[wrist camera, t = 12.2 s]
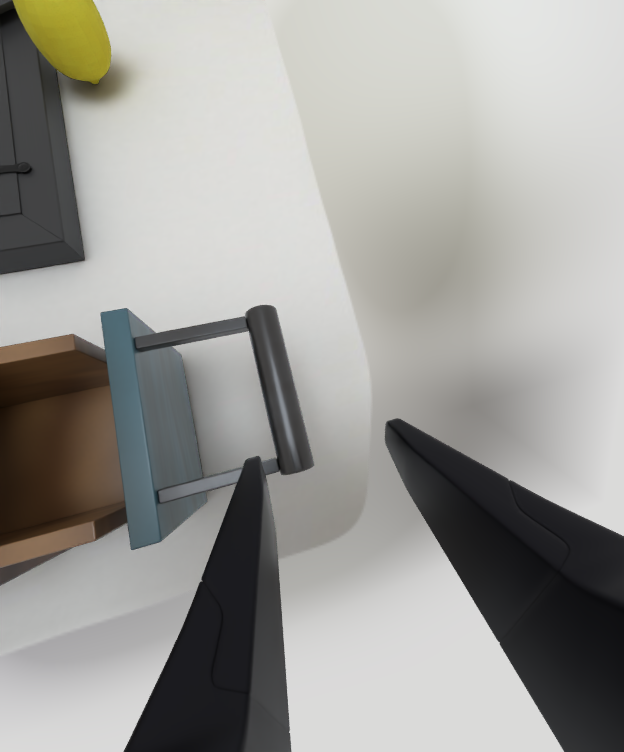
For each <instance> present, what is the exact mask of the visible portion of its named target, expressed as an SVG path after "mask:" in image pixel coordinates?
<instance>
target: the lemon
mask: <svg viewBox="0 0 624 752" xmlns="http://www.w3.org/2000/svg"><path fill="white" fill-rule="evenodd" d="M13 2H14V5H15V8H16V11H17V13H18V15H19V18H20V20H21V22H22V24H23V26H24V28H25V30H26V32H27V33H28V35H29V37H30V38H31V40H32V41H33V43H34V44H35V46H36V47H37V48H38V50H39V51H40V52H41V53H42V54H43V56H44V57H45V58H46V59H47V60H48V61H49V63H50V64H51V65H52V66H53V67H54V68H56V69H57V70H58V71H59V72H61V73H62V74H64V75H66V76H68V77H70V78H72V79H77V80H82V81H89V82H91V83H92V84H98V83H99V80H100V78H102V77H103V76H104V75H105V74H106V73H107V71H108V69H109V67H110V61H111V46H110V41H109V38H108V35H107V32H106V29H105V26H104V23H103V21H102V18H101V16H100V14H99V12H98V10H97V8H96V6H95V4H94V2H93V0H13Z"/></svg>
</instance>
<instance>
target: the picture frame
mask: <svg viewBox="0 0 624 752" xmlns="http://www.w3.org/2000/svg"><path fill="white" fill-rule="evenodd" d="M81 260H84V253H83V247H82V240H81V233H80V227H79V220H78V213H77V207H76V200H75V194H74V187H73V180H72V174H71V167H70V160H69V154H68V147H67V141H66V134H65V127H64V121H63V114H62V108H61V101H60V94H59V88H58V81H57V74H56V68H54V67H53V66H52V65H51V64H50V63H49V61H48V60H47V59H46V58H45V57H44V56H43V54H42V53H41V52H40V51H39V50H38V48H37V47H36V46H35V44H34V43H33V41H32V40H31V38H30V37H29V35H28V33H27V32H26V30H25V28H24V26H23V24H22V22H21V20H20V18H19V15H18V13H17V11H16V8H15V5H14V2H13V0H0V274H2V273H8V272H14V271H20V270H26V269H32V268H39V267H45V266H51V265H57V264H63V263H69V262H75V261H81Z"/></svg>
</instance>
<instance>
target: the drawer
mask: <svg viewBox="0 0 624 752" xmlns="http://www.w3.org/2000/svg"><path fill="white" fill-rule="evenodd" d="M245 317H246V318H245ZM245 317H239V318H234V319H228V320H223V321H218V322H213V323H207V324H202V325H197V326H192V327H186V328H181V329H176V330H170V331H165V332H160V333H155V332H154V331H153V330H152V329H151V328H150V327H148V326H147V325H146V324H145V323H144V322H143V321H141V320H140V319H139V318H138V317H137V316H136V315H134V314H133V313H132V312H131V311H130V310H129V309H127V308H124V309H119V310H113V311H107V312H102V313H101V322H102V330H103V337H104V345H105V350H104V349H102V348H100V347H98V346H96V345H94V344H92V343H90V342H88V341H86V340H84V339H82V338H80V337H78V336H76V335H74V334H70V335H65V336H59V337H54V338H48V339H43V340H37V341H32V342H26V343H21V344H15V345H10V346H4V347H0V568H2V567H5V566H9V565H12V564H16V563H19V562H23V561H26V560H30V559H33V558H37V557H40V556H44V555H47V554H51V553H54V552H58V551H62V550H65V549H69V548H72V547H76V546H79V545H83V544H86V543H90V542H93V541H96V540H98V539H100V538H101V537H103V536H105V535H107V534H109V533H110V532H112V531H114V530H116V529H118V528H119V527H121V526H123V525H125V524H127V523H128V530H129V538H130V546H131V550H134V549H138V548H141V547H145V546H148V545H151V544H155V543H158V542H161V541H162V540H163V539H165V538H166V537H167V536H168V535H169V534H170V533H171V532H173V531H174V530H175V529H176V528H177V527H178V526H180V525H181V524H182V523H183V522H184V521H185V520H186V519H188V518H189V517H190V516H191V515H192V514H193V513H195V512H196V511H197V510H198V509H199V508H200V507H201V506H203V505H204V504H205V503H206V502H207V497H206V492H207V491H210V490H214V489H218V488H221V487H225V486H229V485H232V484H236V483H237V482H238V479H239V477H240V474H241V471H242V469H243V467H239V468H235V469H232V470H228V471H224V472H221V473H217V474H213V475H209V476H206V477H203V474H202V468H201V463H200V457H199V452H198V446H197V440H196V435H195V429H194V423H193V418H192V412H191V407H190V401H189V395H188V390H187V384H186V378H185V373H184V367H183V362H182V356H181V354H180V353H179V352H178V351H177V350H175V349H174V348H173V347H172V346H176V345H181V344H186V343H191V342H196V341H201V340H206V339H211V338H216V337H221V336H226V335H231V334H236V333H242V332H247V331H249V335H250V340H251V344H252V349H253V353H254V358H255V362H256V367H257V371H258V375H259V380H260V384H261V389H262V393H263V398H264V402H265V407H266V411H267V416H268V420H269V424H270V429H271V433H272V438H273V442H274V447H275V451H276V456H277V458H273V459H269V460H265V461H262V465H263V468H264V472H265V475H269V474H272V473H276V472H279V470H280V473H281V475H289V474H294V473H298V472H301V471H305V470H307V469H310V468H312V467H313V466H314V461H313V457H312V453H311V449H310V445H309V441H308V437H307V433H306V429H305V425H304V420H303V416H302V412H301V408H300V404H299V400H298V396H297V392H296V388H295V384H294V380H293V376H292V372H291V368H290V363H289V359H288V355H287V351H286V347H285V343H284V339H283V335H282V331H281V327H280V323H279V319H278V315H277V311H276V308H275V307H273V306H271V305H260V306H256V307H253V308H251V309H249V310H248V311H247V312H246V314H245Z"/></svg>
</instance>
